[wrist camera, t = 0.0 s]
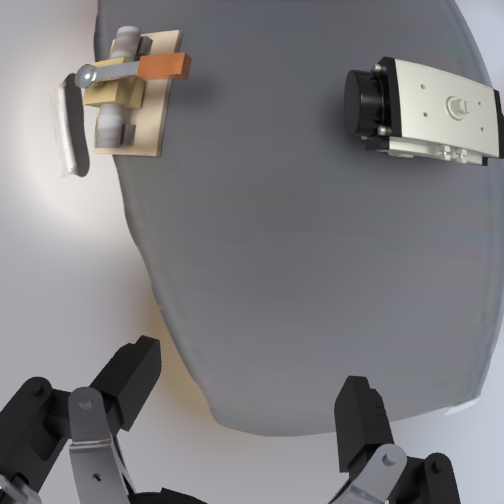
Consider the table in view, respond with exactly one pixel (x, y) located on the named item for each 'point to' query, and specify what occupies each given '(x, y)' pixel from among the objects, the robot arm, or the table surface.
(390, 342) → the table surface
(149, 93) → the valve rig
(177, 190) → the table surface
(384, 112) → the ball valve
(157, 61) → the lever
